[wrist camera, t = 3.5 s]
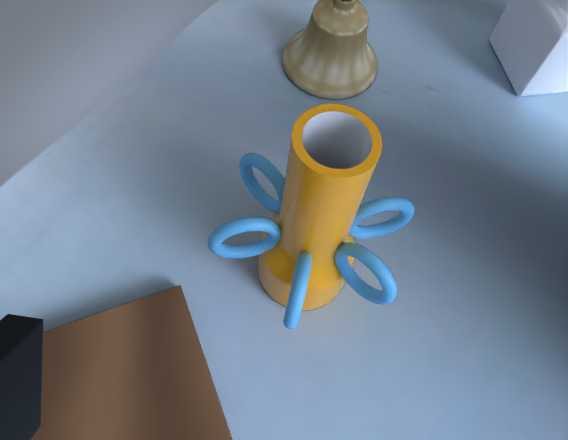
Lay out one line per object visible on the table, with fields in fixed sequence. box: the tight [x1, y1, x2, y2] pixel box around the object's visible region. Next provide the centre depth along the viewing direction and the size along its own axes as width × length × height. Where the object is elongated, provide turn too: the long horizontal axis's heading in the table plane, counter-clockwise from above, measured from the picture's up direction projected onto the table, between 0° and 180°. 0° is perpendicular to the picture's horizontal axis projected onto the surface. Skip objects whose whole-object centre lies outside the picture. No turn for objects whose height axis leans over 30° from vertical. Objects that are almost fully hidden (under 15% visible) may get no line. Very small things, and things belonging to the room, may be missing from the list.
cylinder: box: [208, 104, 414, 329], centre depth 30 cm, size 12×10×15 cm
